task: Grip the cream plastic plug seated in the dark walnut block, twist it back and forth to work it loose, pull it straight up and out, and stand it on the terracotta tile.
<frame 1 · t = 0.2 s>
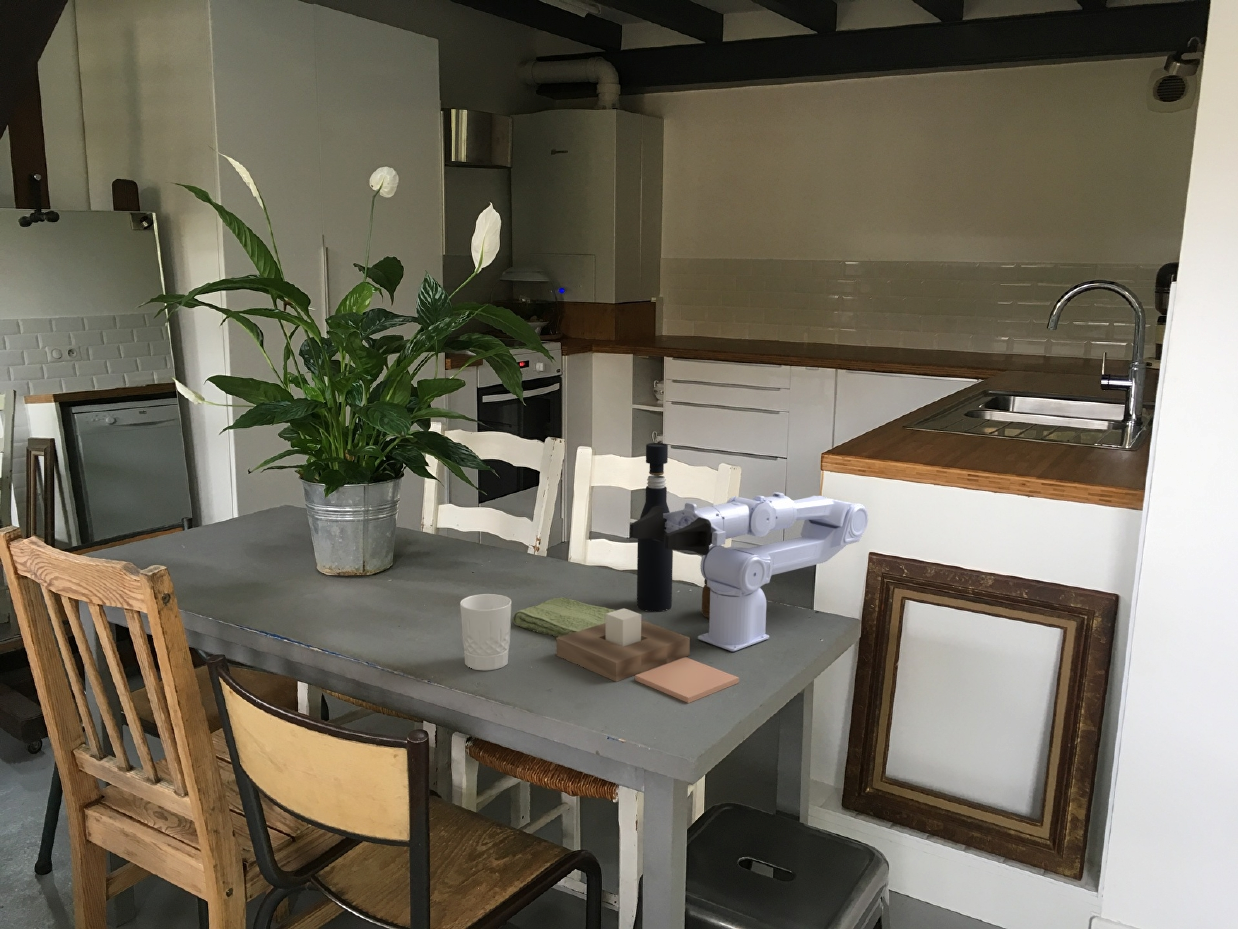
hand: (648, 536, 156), 21 cm above the table, tool horizontal, fingers open, 7 cm apart
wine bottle: (654, 607, 190), on the table
header block: (623, 655, 166), on the table
plug: (623, 635, 165), in the header block
washcloth: (572, 629, 179), on the table
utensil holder: (717, 616, 185), on the table
tile: (686, 681, 156), on the table
white cup: (486, 664, 162), on the table
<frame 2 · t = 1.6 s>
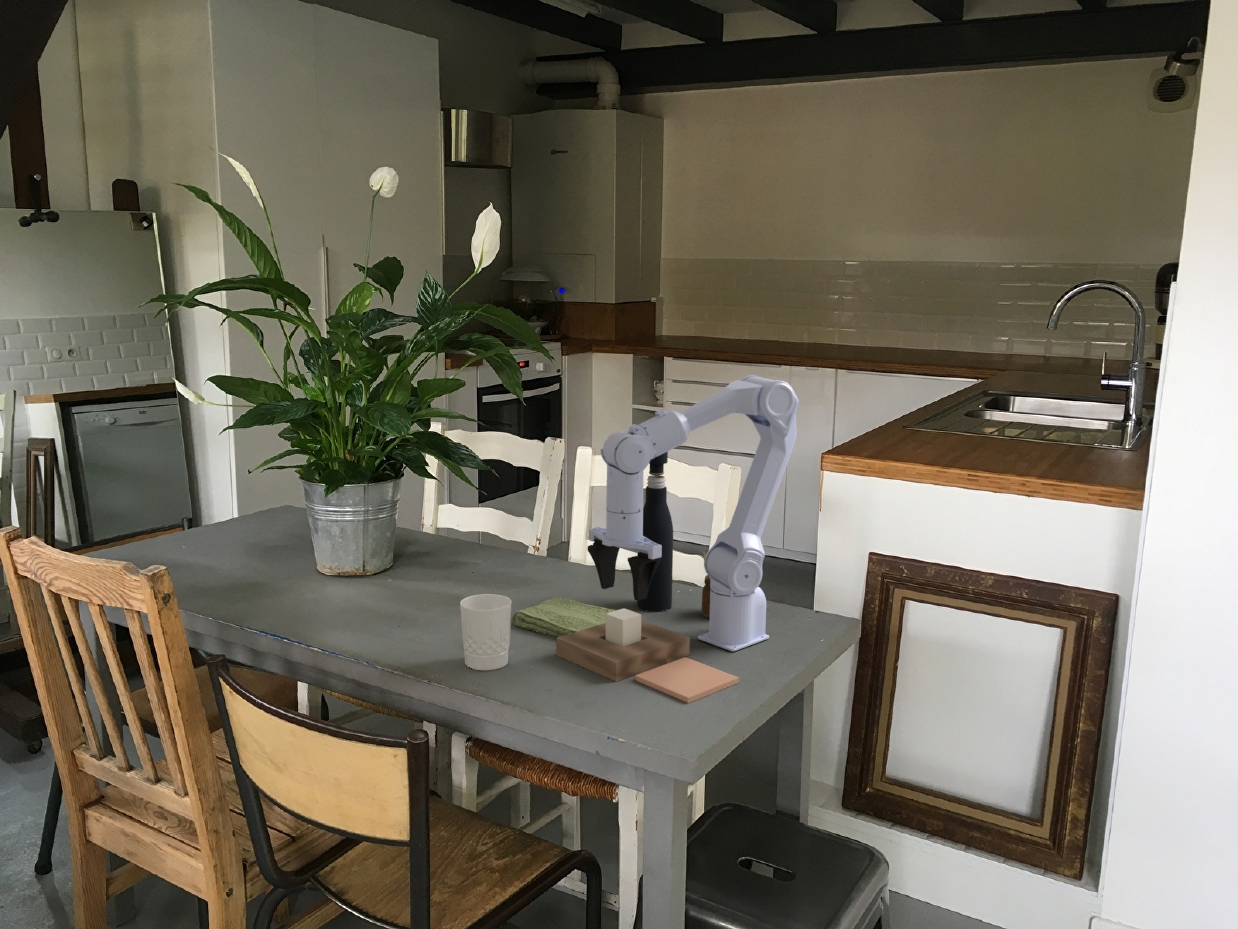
hand: (623, 593, 164), 10 cm above the table, tool pointing down, fingers open, 7 cm apart
nothing on the table moved.
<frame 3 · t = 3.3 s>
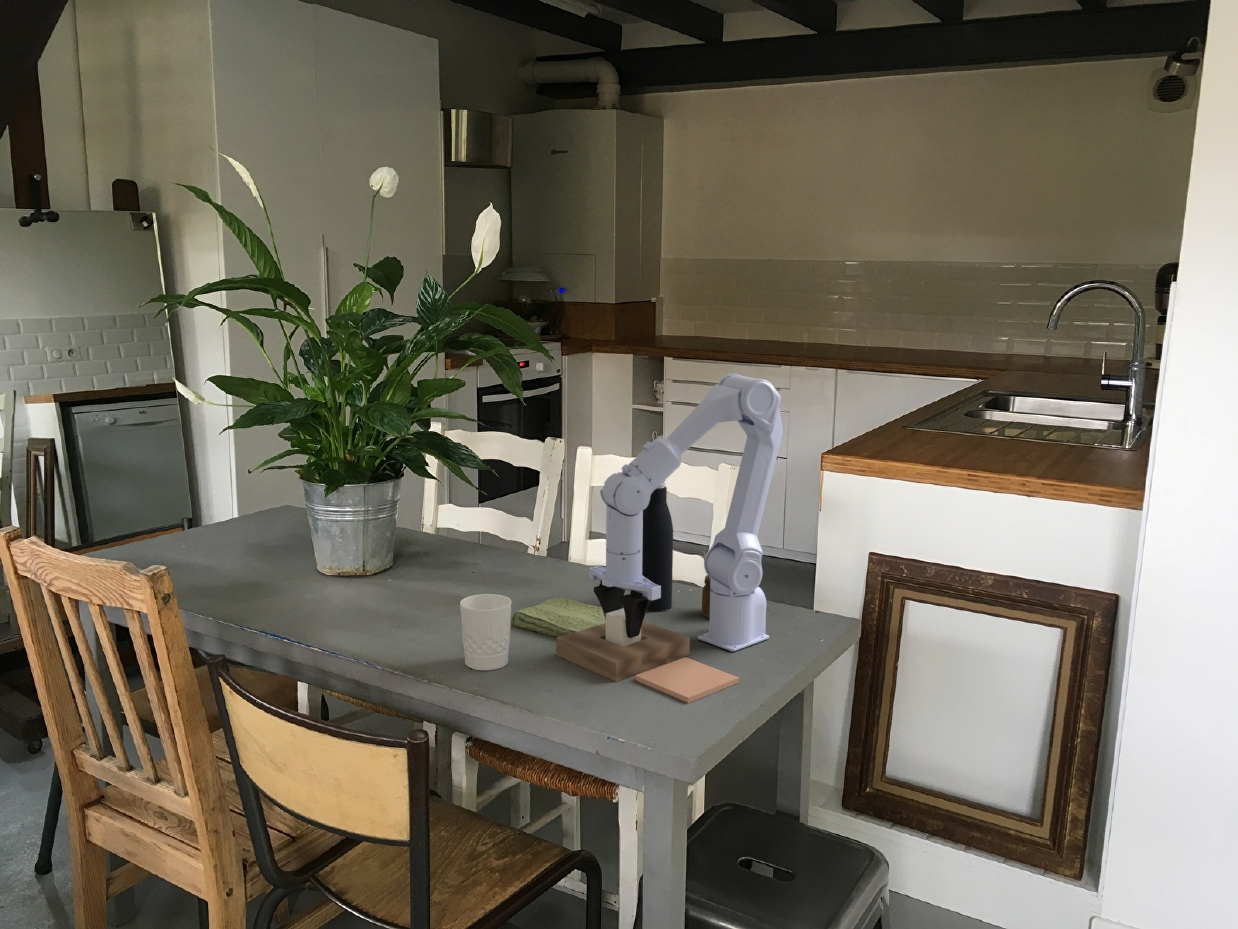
hand: (623, 632, 165), 4 cm above the table, tool pointing down, fingers closed on plug, 4 cm apart
plug: (623, 634, 165), in the header block, touching gripper
everything else where it was.
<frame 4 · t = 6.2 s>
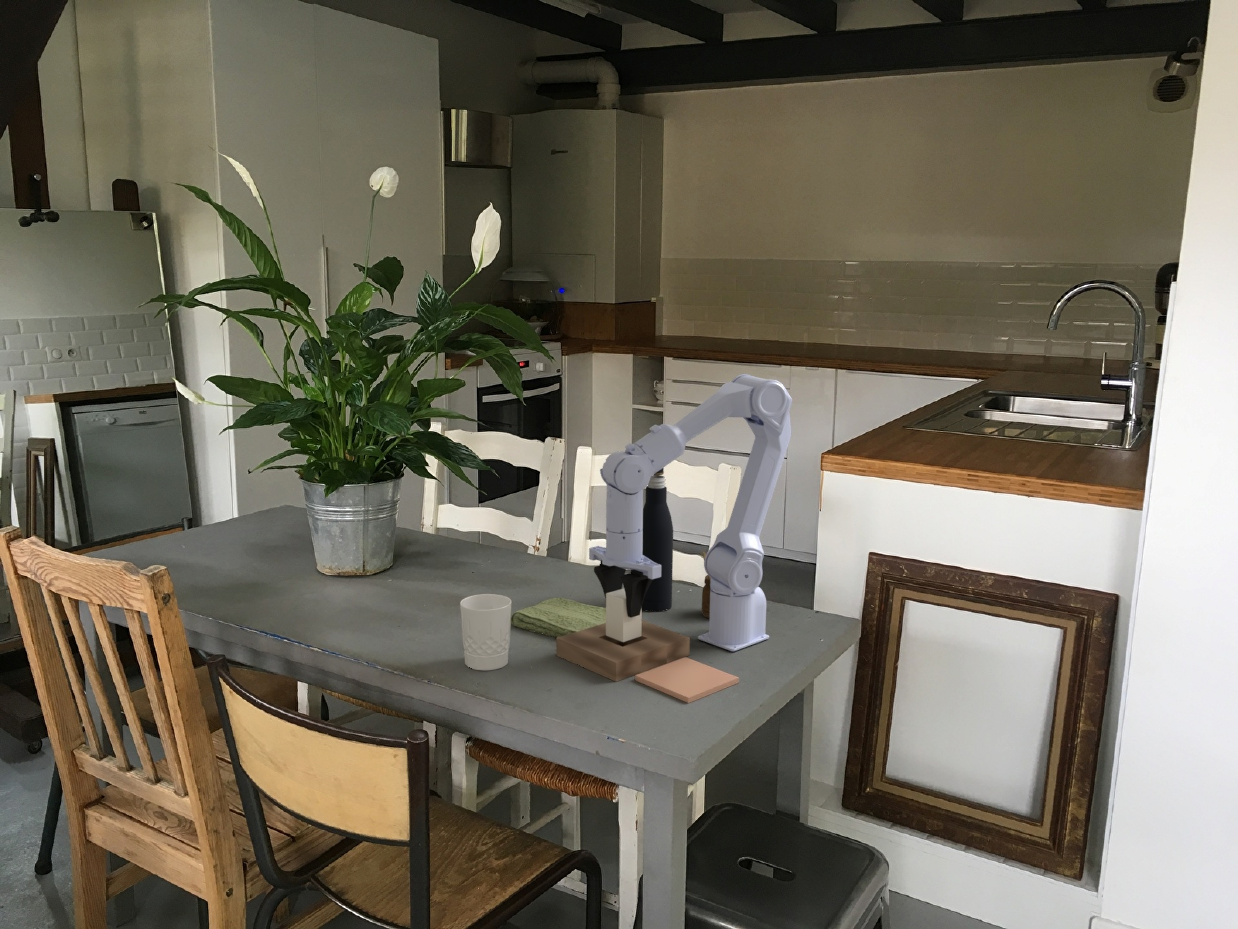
hand: (623, 612, 164), 7 cm above the table, tool pointing down, fingers closed on plug, 4 cm apart
plug: (623, 614, 164), point 7 cm above the table, touching gripper
everything else where it was.
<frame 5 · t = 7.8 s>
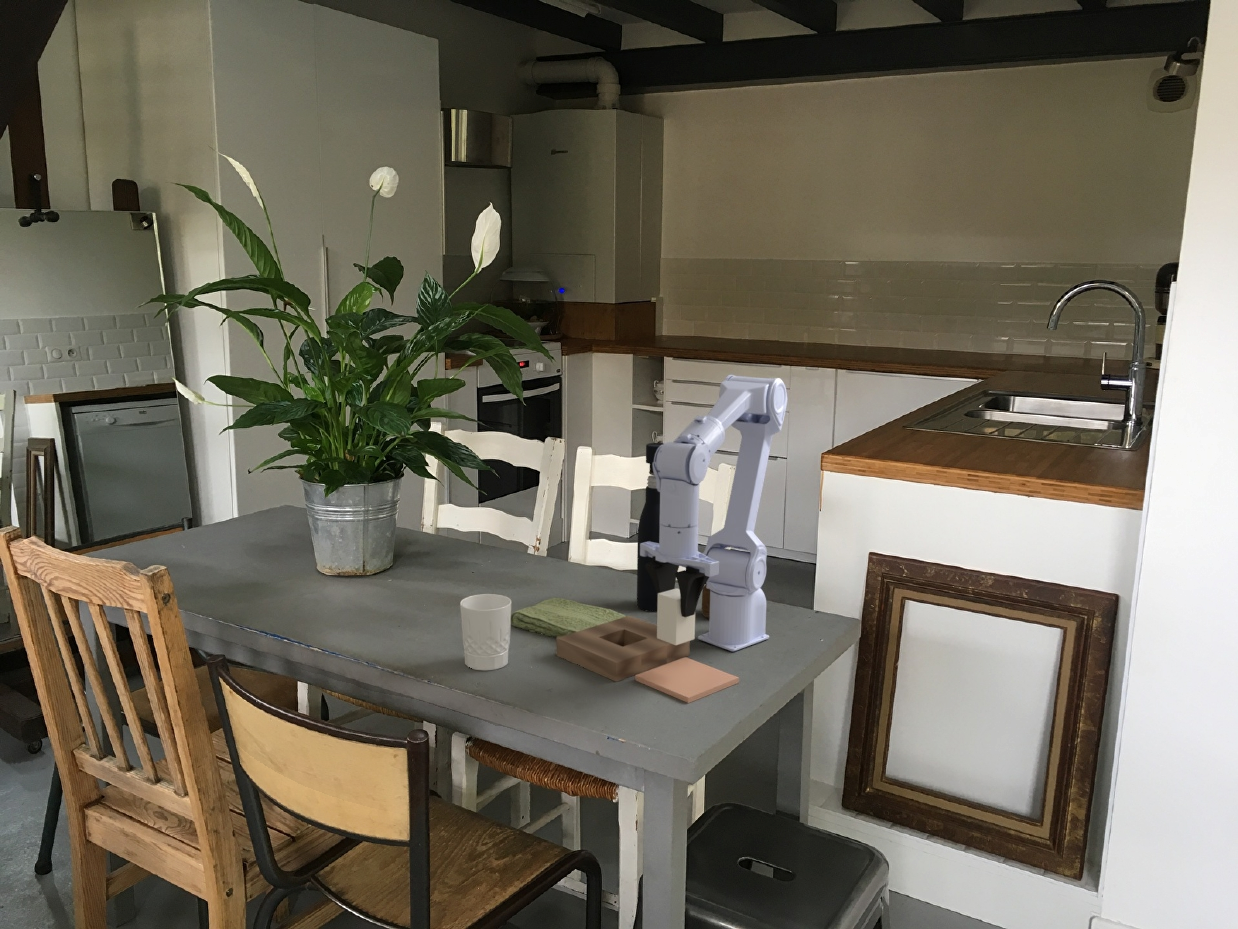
hand: (677, 611, 155), 10 cm above the table, tool pointing down, fingers closed on plug, 4 cm apart
plug: (676, 616, 155), point 10 cm above the table, touching gripper
everything else where it was.
when the fingers open (6 cm above the table, at t = 9.3 s): plug stays where it is, resting on tile.
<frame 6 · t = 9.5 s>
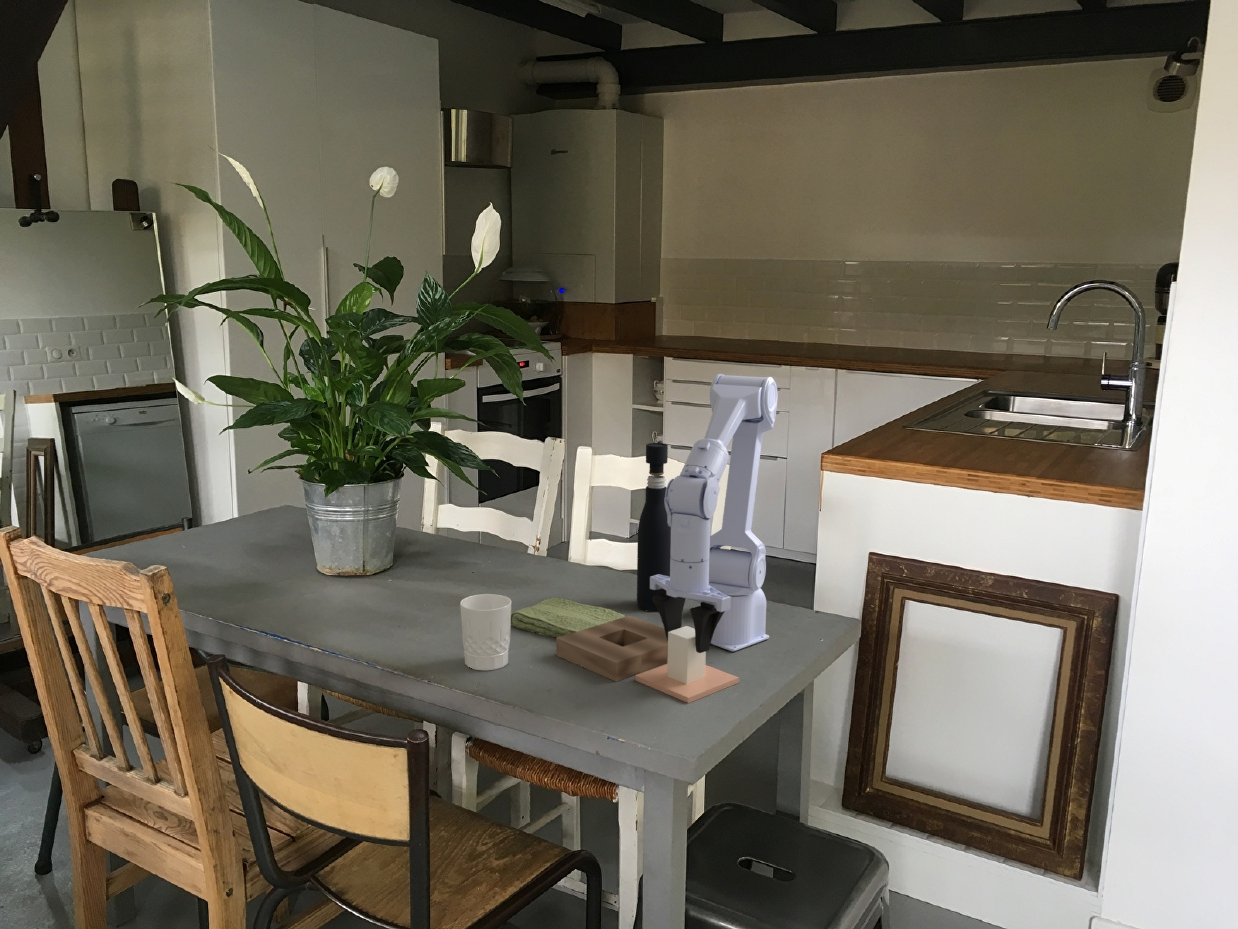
hand: (687, 645, 155), 6 cm above the table, tool pointing down, fingers open, 5 cm apart
plug: (686, 654, 155), on the tile, point 4 cm above the table
everything else where it was.
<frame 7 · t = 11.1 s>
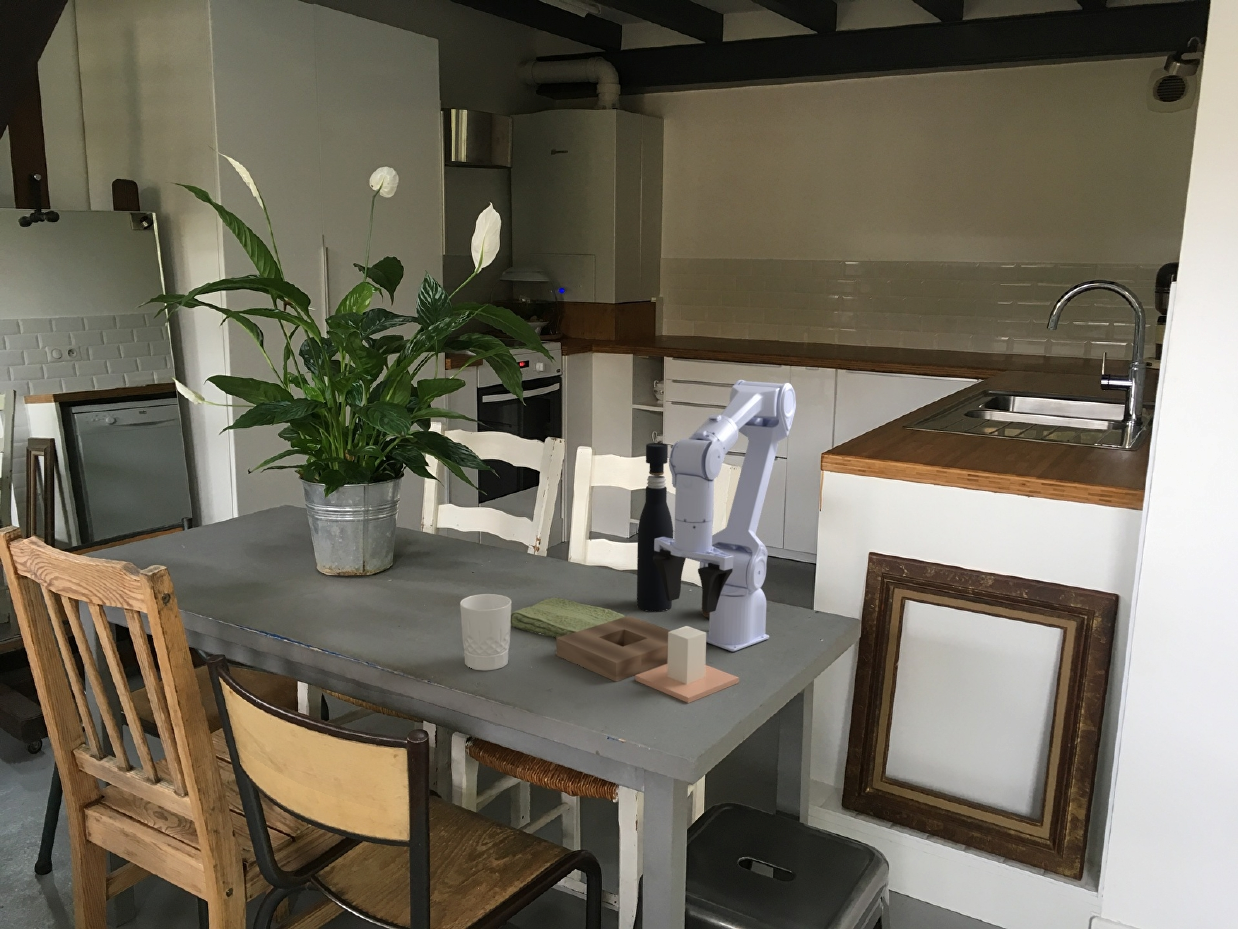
hand: (691, 605, 158), 10 cm above the table, tool pointing down, fingers open, 7 cm apart
nothing on the table moved.
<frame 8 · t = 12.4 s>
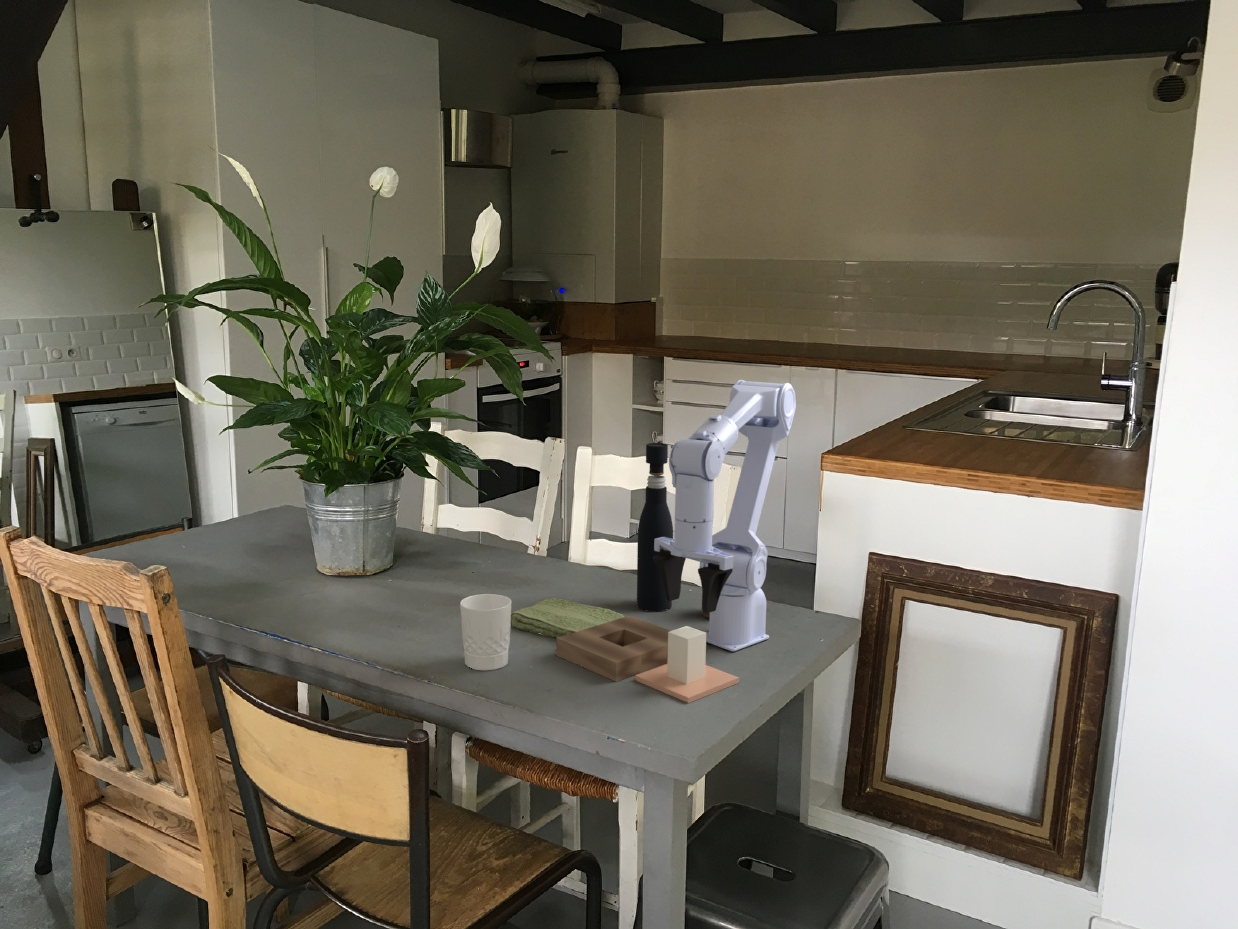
hand: (691, 605, 158), 10 cm above the table, tool pointing down, fingers open, 7 cm apart
nothing on the table moved.
at the end: plug inside the target area on the tile (0.2 cm from its centre), point 4.3 cm above the tile's base; plug tilted 0°; the gripper is holding nothing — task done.
